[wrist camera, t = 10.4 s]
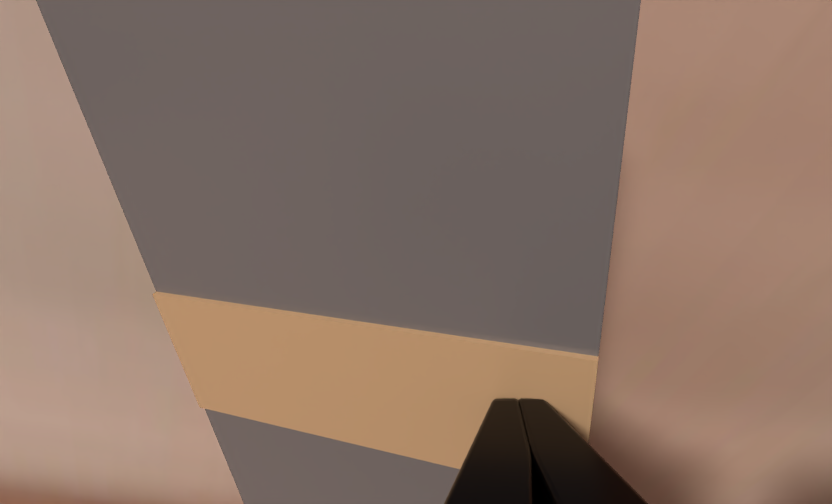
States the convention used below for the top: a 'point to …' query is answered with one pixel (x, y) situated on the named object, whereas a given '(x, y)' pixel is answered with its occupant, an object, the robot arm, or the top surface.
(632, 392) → the top surface
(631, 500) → the robot arm
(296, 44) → the flap lid
